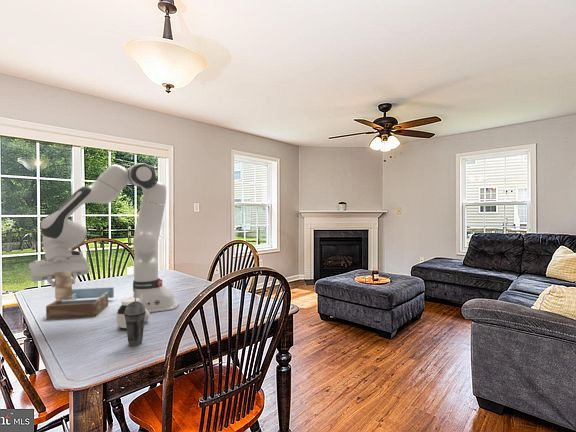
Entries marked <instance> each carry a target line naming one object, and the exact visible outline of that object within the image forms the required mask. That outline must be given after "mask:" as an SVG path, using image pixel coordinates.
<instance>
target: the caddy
mask: <svg viewBox="0 0 576 432" xmlns="http://www.w3.org/2000/svg"><path fill="white" fill-rule="evenodd" d="M62 301H63V300H62ZM108 306H109V298H108V294H104V295H103V296H102V297H101V298H99V299H98V300H97V301H95V302H94V303H81V304H64V305H61V301H57V300H56V299H55V300H54V301H53V302H51V303H49V304H47V305H46V306H45V310H46V311H45V313H46V314H45V316H46V318H45V319H46V320H59V319H60V320H61V319H73V318H74V319H75V318H87V317H88V318H89V317H97V316H98V315H99V314H100V313H101V312H102V311H103V310H104V309H106V308H107V307H108Z"/></svg>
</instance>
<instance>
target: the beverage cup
mask: <svg viewBox="0 0 576 432" xmlns="http://www.w3.org/2000/svg"><path fill="white" fill-rule="evenodd" d="M145 313H146V311H145V307H144V305H143V304H142V303H140V302H136V289H135V302H132V303H130V304H129V305H128V306H127V307H126V309H125V313H124V315H125V320H126V327H127V330H126V336H127V344H128V347H130V348H131V347H139V346H140V345H142V344H143V337H144V326H145V322H144V318H145Z"/></svg>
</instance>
